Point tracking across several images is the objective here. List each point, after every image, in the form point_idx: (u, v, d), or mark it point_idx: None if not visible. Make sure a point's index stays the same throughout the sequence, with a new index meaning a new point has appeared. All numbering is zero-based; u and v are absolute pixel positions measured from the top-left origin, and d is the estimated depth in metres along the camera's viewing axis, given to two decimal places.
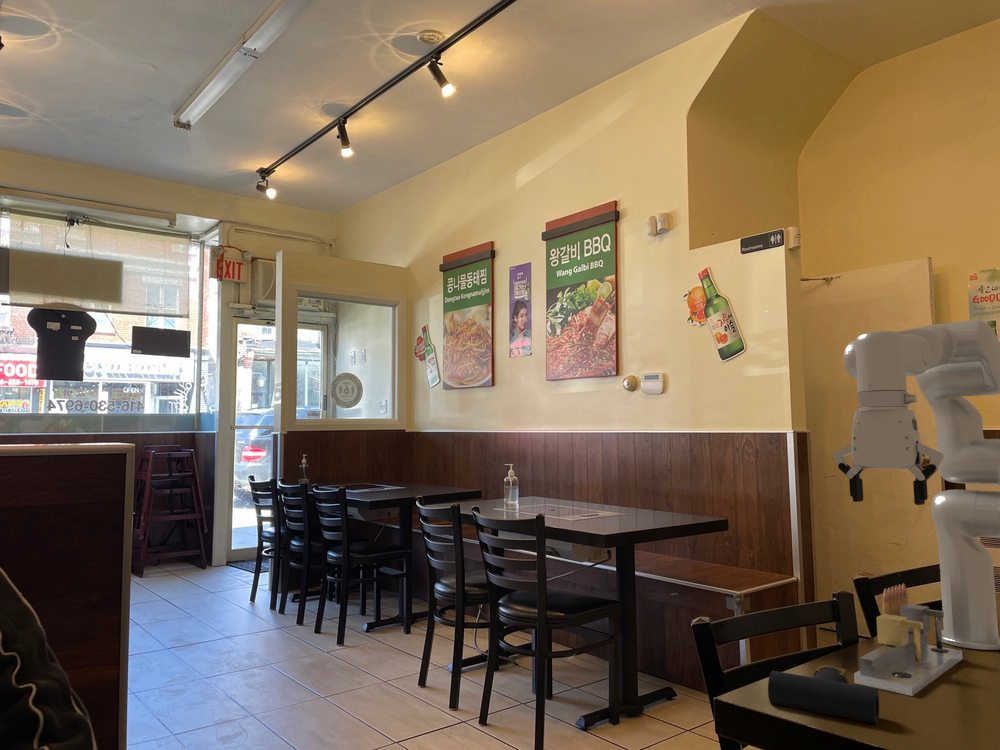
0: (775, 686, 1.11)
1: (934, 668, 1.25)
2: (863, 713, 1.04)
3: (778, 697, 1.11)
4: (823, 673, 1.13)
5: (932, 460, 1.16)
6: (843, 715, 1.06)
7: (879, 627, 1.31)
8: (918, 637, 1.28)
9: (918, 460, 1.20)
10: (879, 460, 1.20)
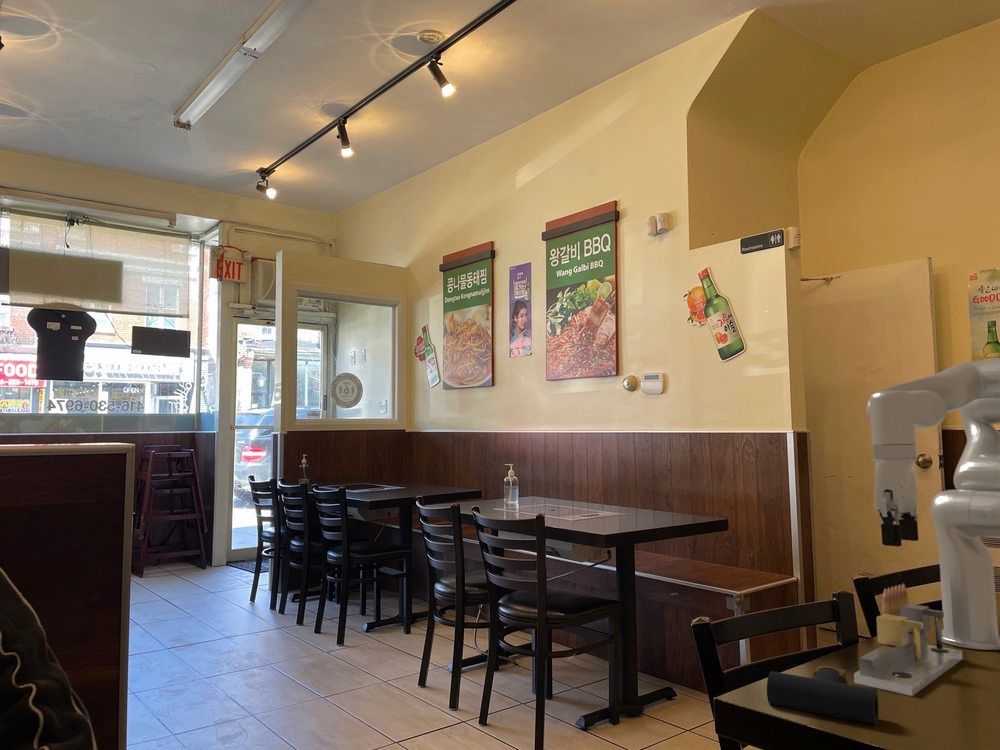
0: (774, 687, 1.11)
1: (934, 668, 1.25)
2: (862, 714, 1.04)
3: (777, 698, 1.10)
4: (822, 674, 1.12)
5: None
6: (842, 716, 1.05)
7: (879, 627, 1.31)
8: (918, 637, 1.28)
9: None
10: (910, 505, 1.36)
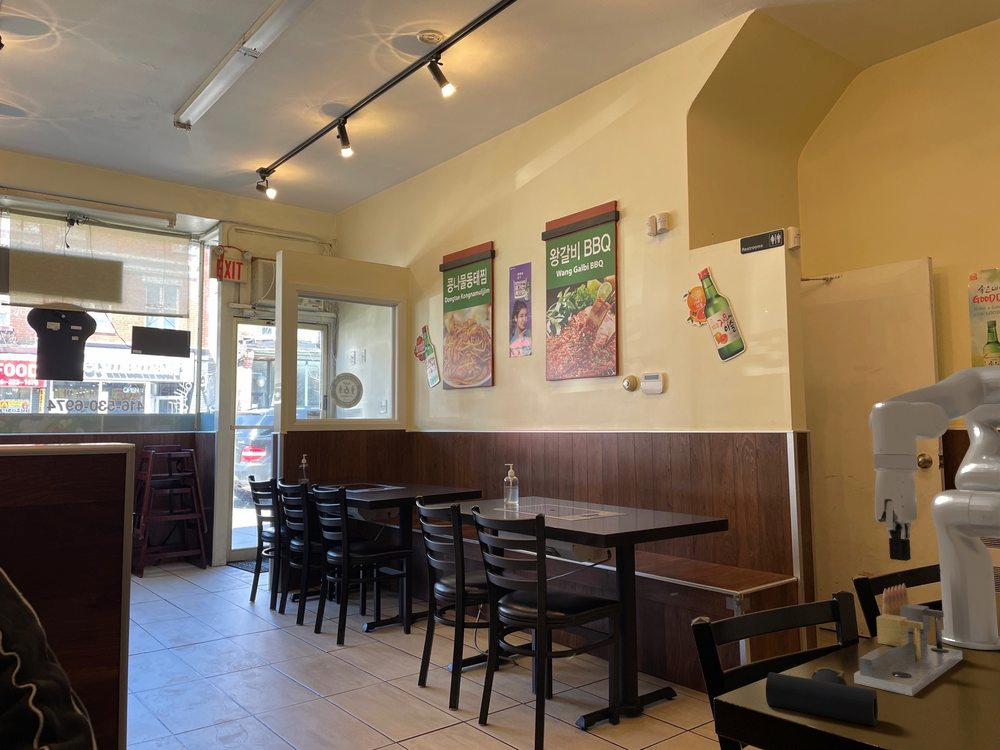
0: (773, 688, 1.10)
1: (934, 668, 1.25)
2: (861, 715, 1.03)
3: (776, 699, 1.10)
4: (821, 675, 1.12)
5: None
6: (841, 717, 1.05)
7: (879, 627, 1.31)
8: (918, 637, 1.28)
9: None
10: (909, 516, 1.36)
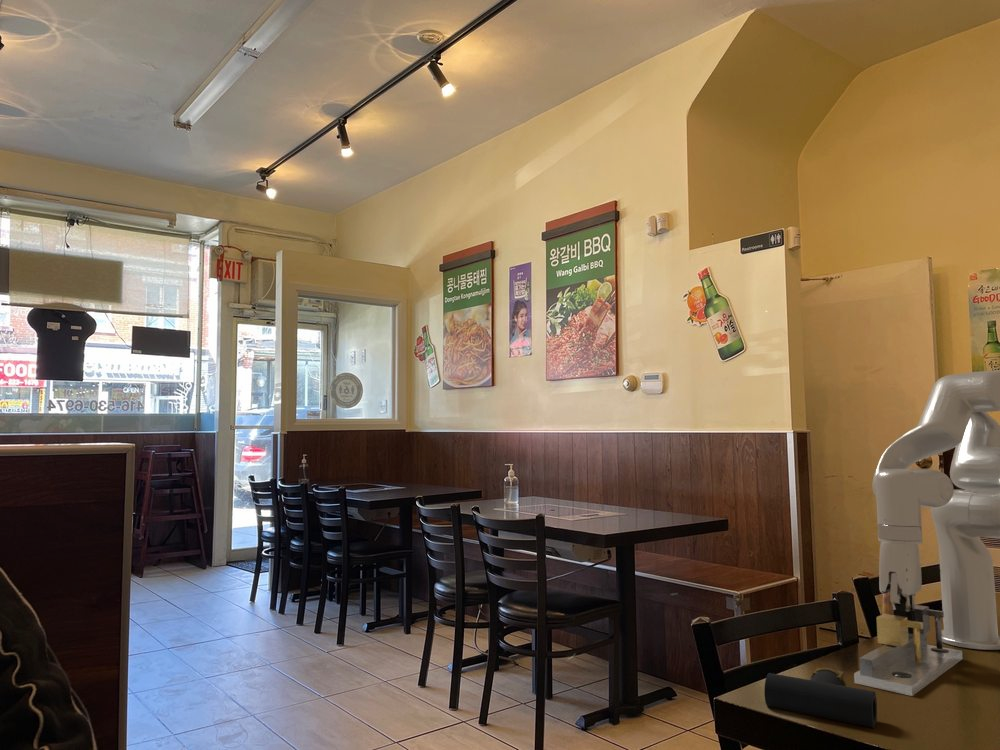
0: (771, 689, 1.10)
1: (934, 668, 1.25)
2: (860, 716, 1.03)
3: (775, 700, 1.09)
4: (820, 675, 1.11)
5: None
6: (840, 718, 1.05)
7: (879, 627, 1.31)
8: (918, 637, 1.28)
9: None
10: (914, 588, 1.35)
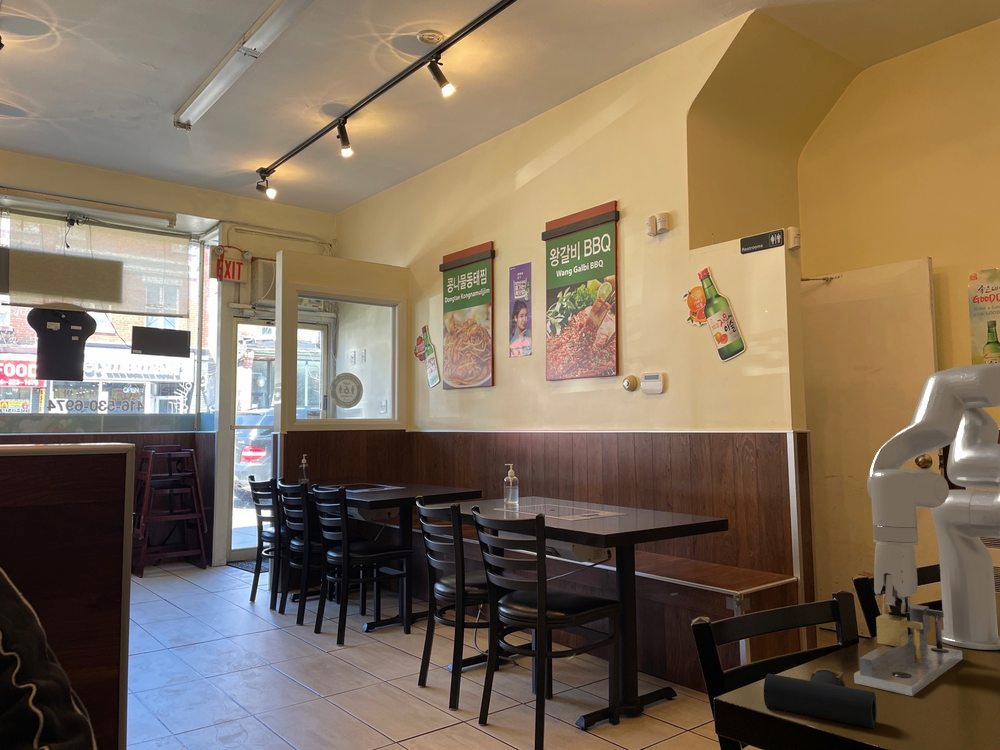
0: (771, 689, 1.10)
1: (934, 668, 1.25)
2: (860, 717, 1.02)
3: (774, 700, 1.09)
4: (820, 676, 1.11)
5: None
6: (839, 719, 1.04)
7: (879, 627, 1.31)
8: (918, 637, 1.28)
9: None
10: (910, 590, 1.33)
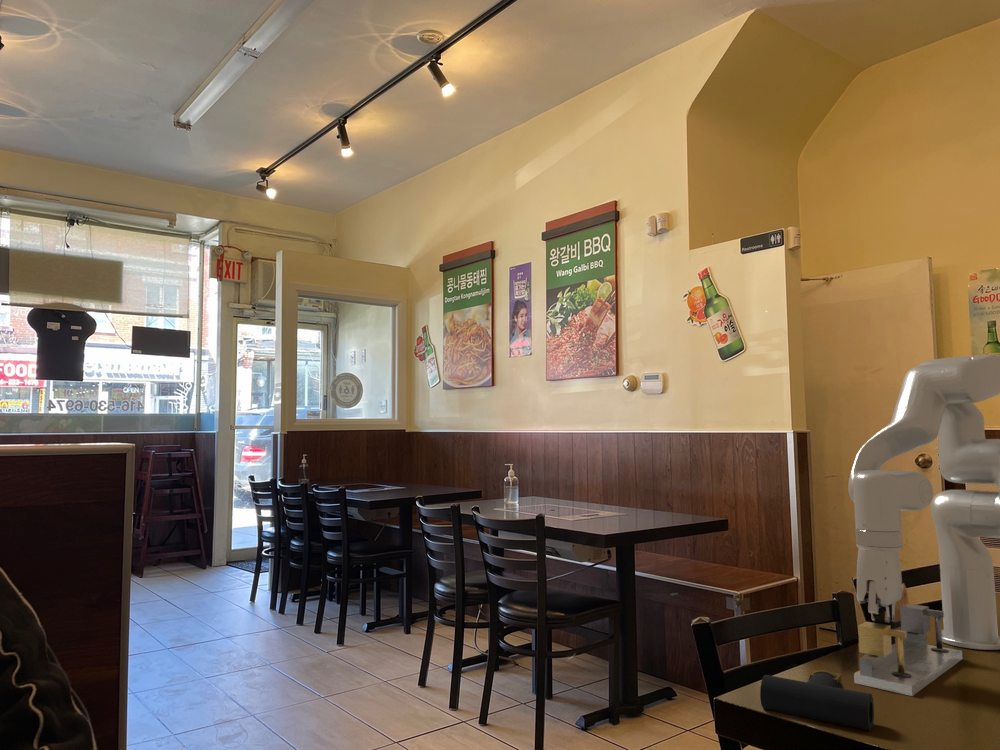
0: (767, 691, 1.09)
1: (934, 668, 1.25)
2: (856, 719, 1.02)
3: (770, 702, 1.09)
4: (817, 678, 1.10)
5: (893, 602, 1.31)
6: (836, 721, 1.04)
7: (861, 636, 1.25)
8: (901, 646, 1.21)
9: None
10: (894, 597, 1.27)
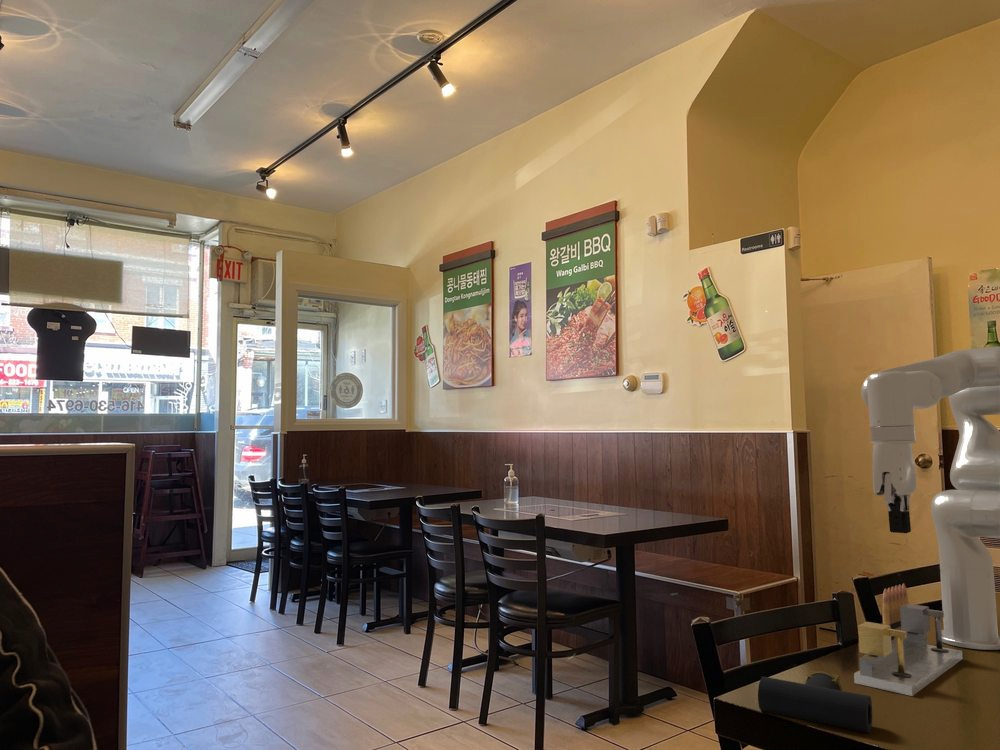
0: (765, 693, 1.08)
1: (934, 668, 1.25)
2: (855, 721, 1.01)
3: (768, 704, 1.08)
4: (815, 679, 1.09)
5: None
6: (834, 723, 1.03)
7: (861, 636, 1.25)
8: (901, 646, 1.21)
9: None
10: (908, 488, 1.34)
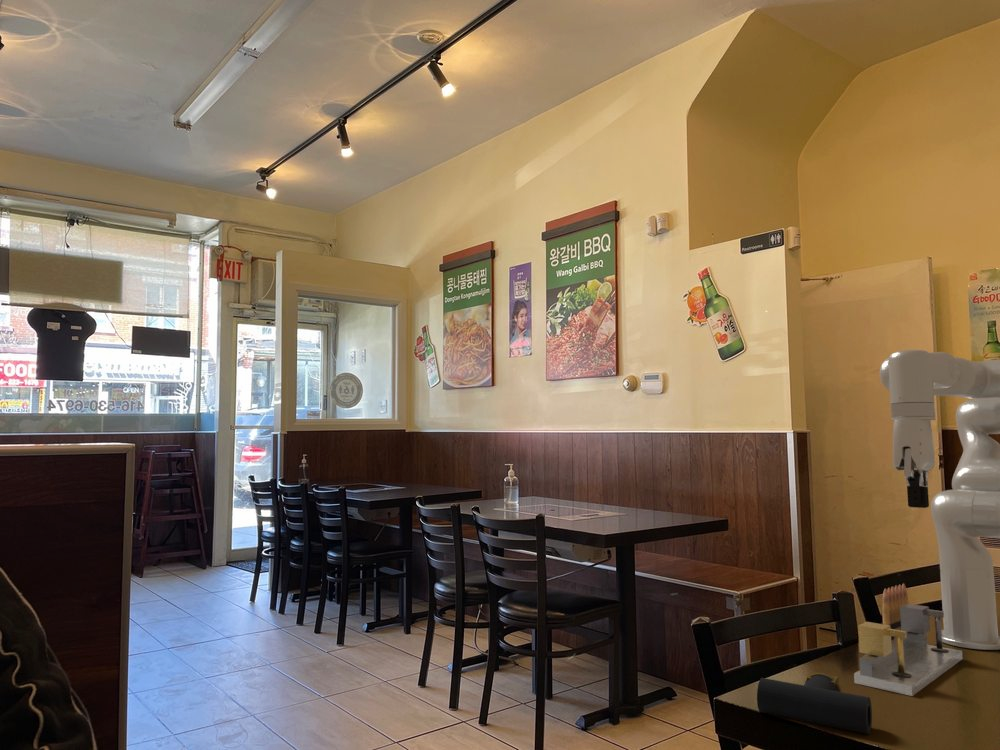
0: (764, 694, 1.08)
1: (934, 668, 1.25)
2: (854, 723, 1.00)
3: (767, 705, 1.07)
4: (814, 681, 1.09)
5: None
6: (834, 725, 1.02)
7: (861, 636, 1.25)
8: (901, 646, 1.21)
9: None
10: (927, 463, 1.37)
